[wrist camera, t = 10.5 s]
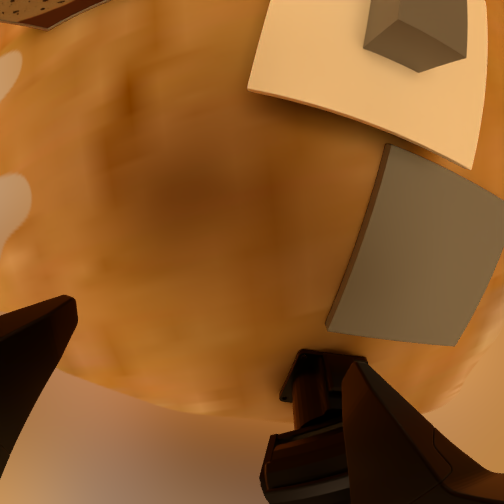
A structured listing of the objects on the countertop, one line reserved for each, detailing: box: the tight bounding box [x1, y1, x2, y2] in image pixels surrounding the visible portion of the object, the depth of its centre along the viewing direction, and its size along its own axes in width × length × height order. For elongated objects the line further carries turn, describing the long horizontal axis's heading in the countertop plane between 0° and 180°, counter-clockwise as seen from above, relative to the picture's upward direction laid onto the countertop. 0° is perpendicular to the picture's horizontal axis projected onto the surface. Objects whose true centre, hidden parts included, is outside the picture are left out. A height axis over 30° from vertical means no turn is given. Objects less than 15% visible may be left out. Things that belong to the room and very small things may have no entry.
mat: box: [325, 144, 504, 346], centre depth 19 cm, size 14×14×1 cm
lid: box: [247, 0, 488, 170], centre depth 8 cm, size 12×12×5 cm
